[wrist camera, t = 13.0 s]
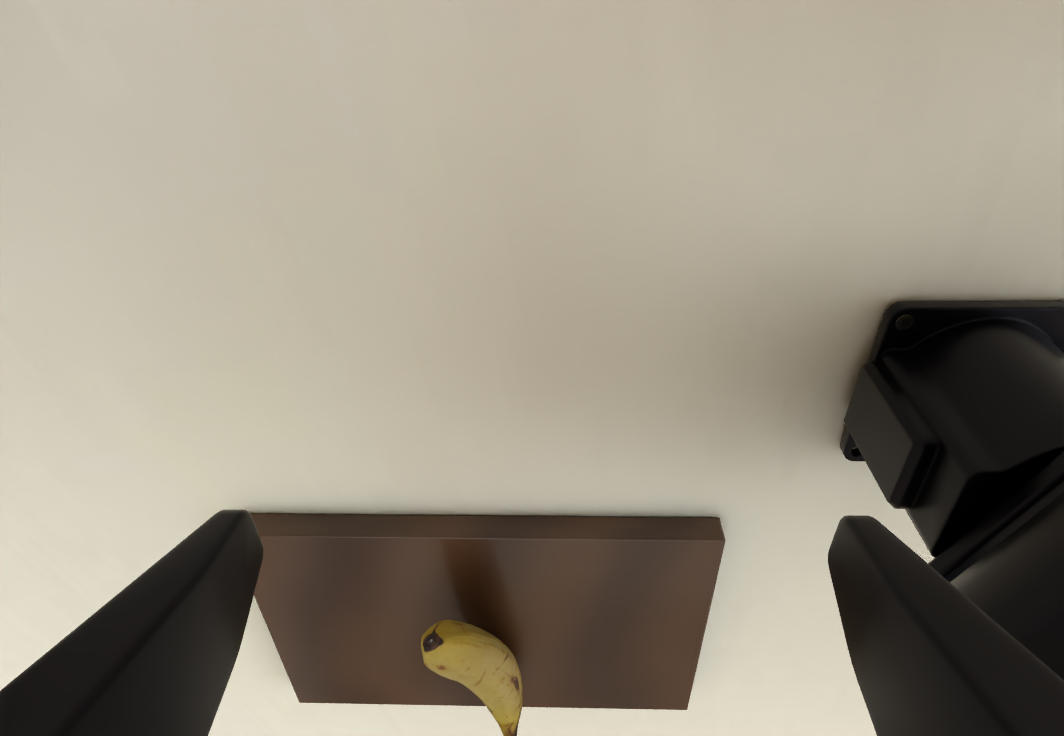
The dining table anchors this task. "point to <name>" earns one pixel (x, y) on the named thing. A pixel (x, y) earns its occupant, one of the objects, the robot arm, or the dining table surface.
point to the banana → (477, 667)
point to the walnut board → (490, 604)
